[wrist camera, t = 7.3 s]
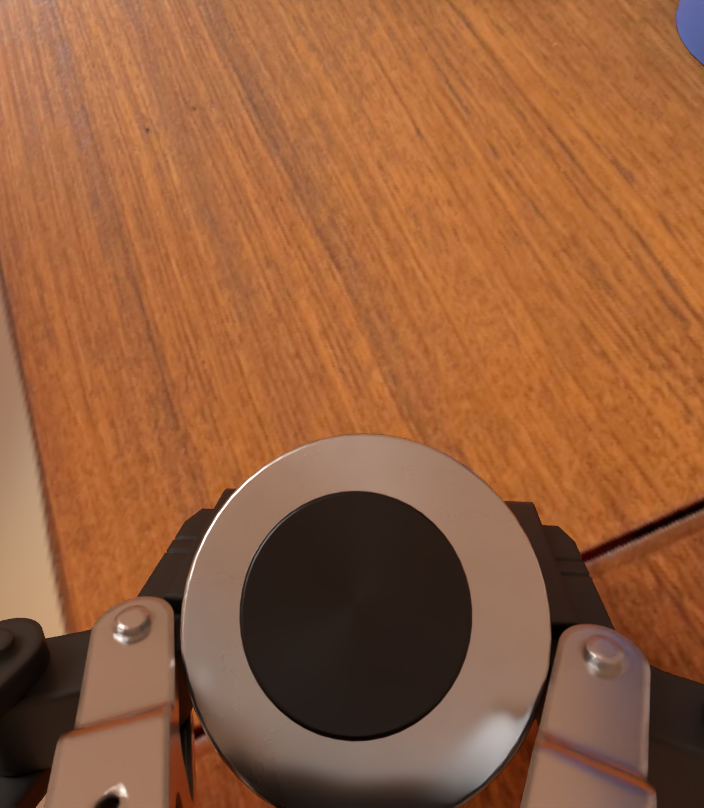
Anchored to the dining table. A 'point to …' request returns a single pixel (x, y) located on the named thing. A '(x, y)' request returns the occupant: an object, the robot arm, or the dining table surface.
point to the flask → (365, 628)
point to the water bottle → (692, 26)
